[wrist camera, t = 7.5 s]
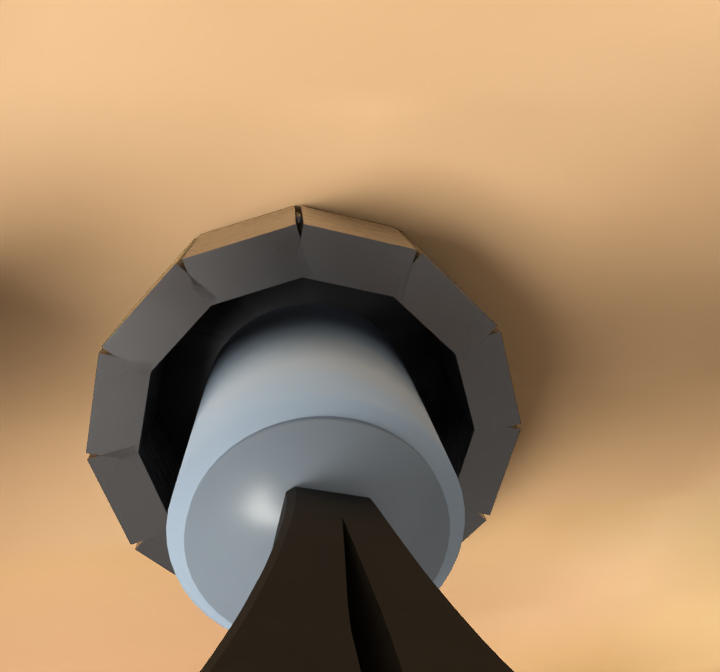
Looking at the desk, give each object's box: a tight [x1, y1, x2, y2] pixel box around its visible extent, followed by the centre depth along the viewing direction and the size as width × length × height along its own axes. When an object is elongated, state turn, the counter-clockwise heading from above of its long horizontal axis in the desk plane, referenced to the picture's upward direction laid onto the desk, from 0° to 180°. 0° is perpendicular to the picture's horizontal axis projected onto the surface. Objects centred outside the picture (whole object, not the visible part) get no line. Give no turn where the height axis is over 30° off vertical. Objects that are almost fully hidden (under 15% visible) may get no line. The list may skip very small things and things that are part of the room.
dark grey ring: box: [86, 206, 521, 575], centre depth 14 cm, size 9×9×3 cm
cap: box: [166, 304, 465, 630], centre depth 12 cm, size 5×5×5 cm
